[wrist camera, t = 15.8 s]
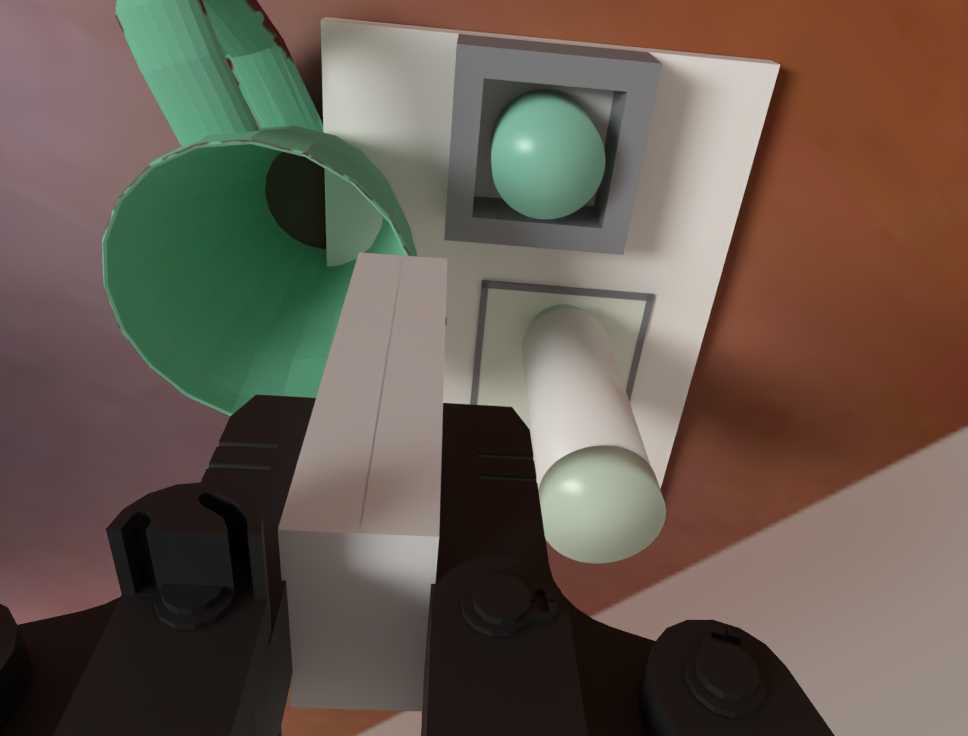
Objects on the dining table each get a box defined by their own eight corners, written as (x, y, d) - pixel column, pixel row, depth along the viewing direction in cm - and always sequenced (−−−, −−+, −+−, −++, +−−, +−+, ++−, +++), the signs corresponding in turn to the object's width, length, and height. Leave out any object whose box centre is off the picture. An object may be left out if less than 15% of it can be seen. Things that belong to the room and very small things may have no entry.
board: (336, 501, 40) (324, 548, 37) (325, 17, 27) (306, 29, 24) (644, 521, 41) (657, 569, 38) (771, 60, 28) (805, 77, 25)
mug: (462, 272, 33) (455, 396, 25) (259, 316, 34) (186, 448, 26) (360, -102, 26) (299, -109, 17) (105, -29, 27) (-70, -2, 18)
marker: (514, 368, 34) (534, 560, 24) (523, 292, 32) (549, 466, 22) (597, 373, 34) (652, 566, 24) (611, 297, 32) (678, 473, 22)
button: (486, 189, 29) (486, 214, 27) (496, 83, 27) (497, 100, 25) (585, 197, 29) (595, 223, 27) (602, 93, 27) (615, 111, 25)
